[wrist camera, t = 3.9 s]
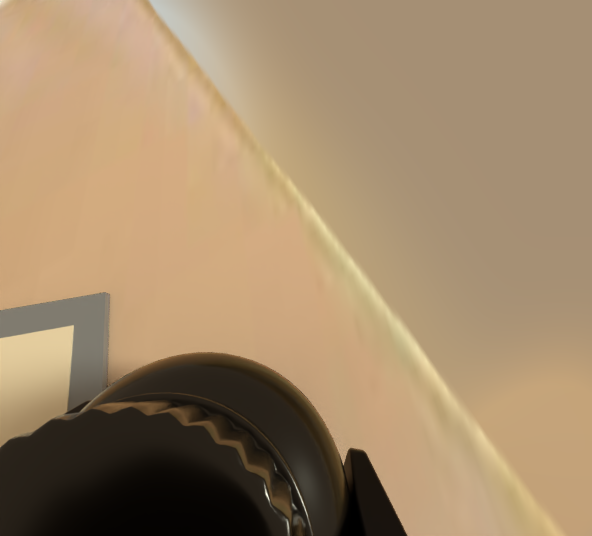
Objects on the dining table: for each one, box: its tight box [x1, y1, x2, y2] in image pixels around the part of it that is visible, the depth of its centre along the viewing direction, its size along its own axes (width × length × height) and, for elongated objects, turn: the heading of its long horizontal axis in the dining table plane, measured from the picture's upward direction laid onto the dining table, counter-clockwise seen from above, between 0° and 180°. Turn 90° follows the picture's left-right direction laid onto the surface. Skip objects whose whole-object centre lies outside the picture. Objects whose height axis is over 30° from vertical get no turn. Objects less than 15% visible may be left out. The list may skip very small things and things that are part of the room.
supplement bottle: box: [0, 352, 353, 536], centre depth 8 cm, size 7×7×12 cm
